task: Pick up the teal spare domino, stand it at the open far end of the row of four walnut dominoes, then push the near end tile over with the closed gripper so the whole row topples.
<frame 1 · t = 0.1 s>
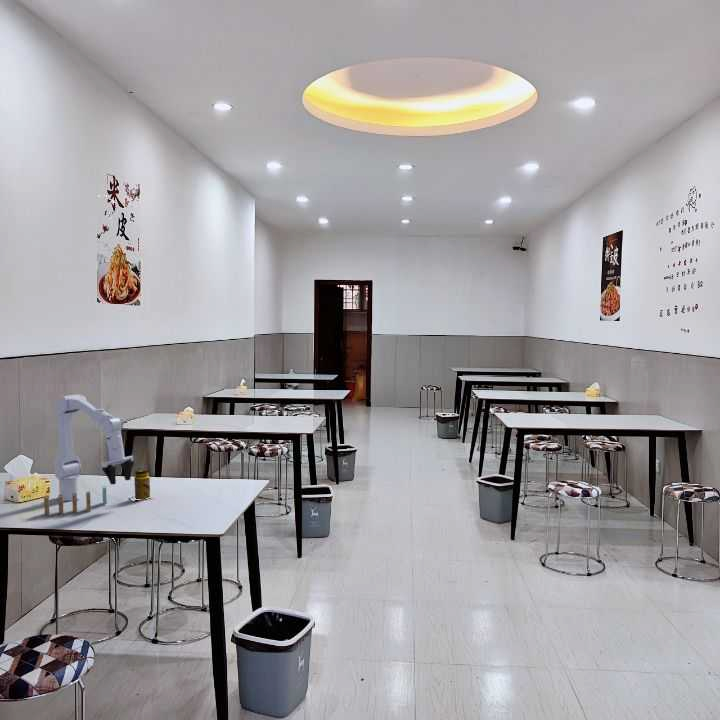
hand: (120, 482, 280), 10 cm above the table, tool pointing down, fingers open, 7 cm apart
domino 3: (75, 511, 276), on the table
domino 2: (61, 513, 275), on the table
domino 4: (88, 510, 278), on the table
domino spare: (104, 503, 288), on the table
domino 1: (47, 514, 273), on the table
condiment: (140, 499, 295), on the table
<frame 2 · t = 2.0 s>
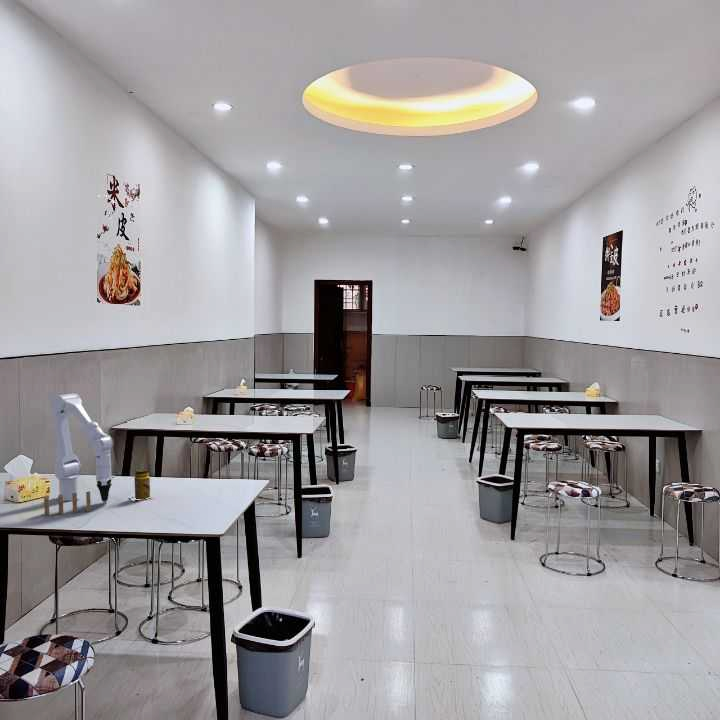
hand: (104, 499, 287), 2 cm above the table, tool pointing down, fingers closed on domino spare, 4 cm apart
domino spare: (104, 503, 288), on the table, touching gripper
everything else where it was.
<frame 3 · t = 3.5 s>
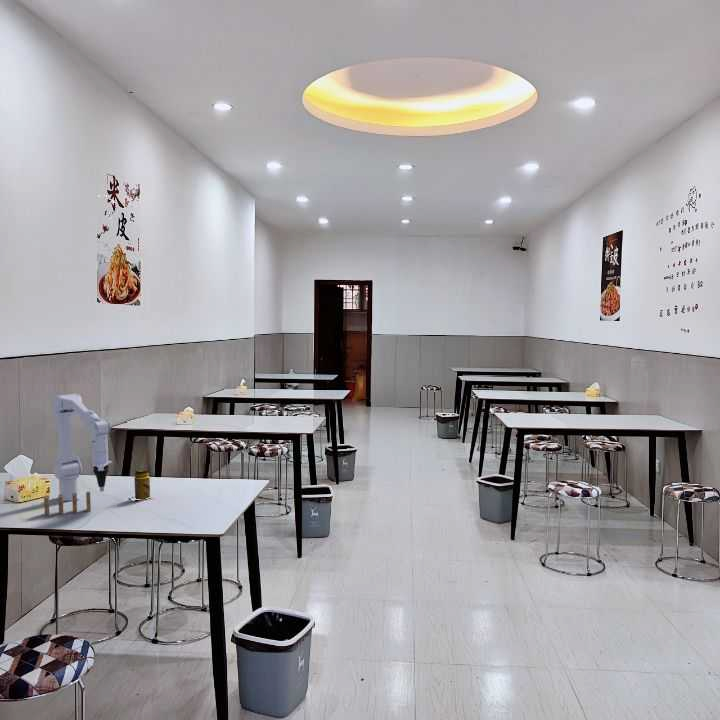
hand: (101, 485, 279), 9 cm above the table, tool pointing down, fingers closed on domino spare, 4 cm apart
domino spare: (101, 490, 279), point 7 cm above the table, touching gripper
everything else where it was.
when the fingers open (2 cm above the table, at t = 5.4 s): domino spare stays where it is, on the table.
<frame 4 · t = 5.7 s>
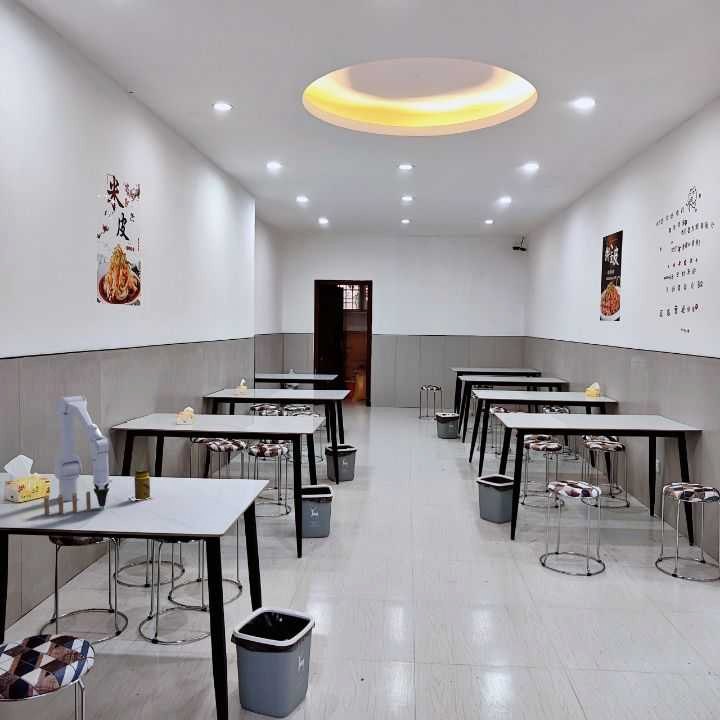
hand: (102, 503, 280), 2 cm above the table, tool pointing down, fingers open, 7 cm apart
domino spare: (102, 509, 280), on the table
everything else where it was.
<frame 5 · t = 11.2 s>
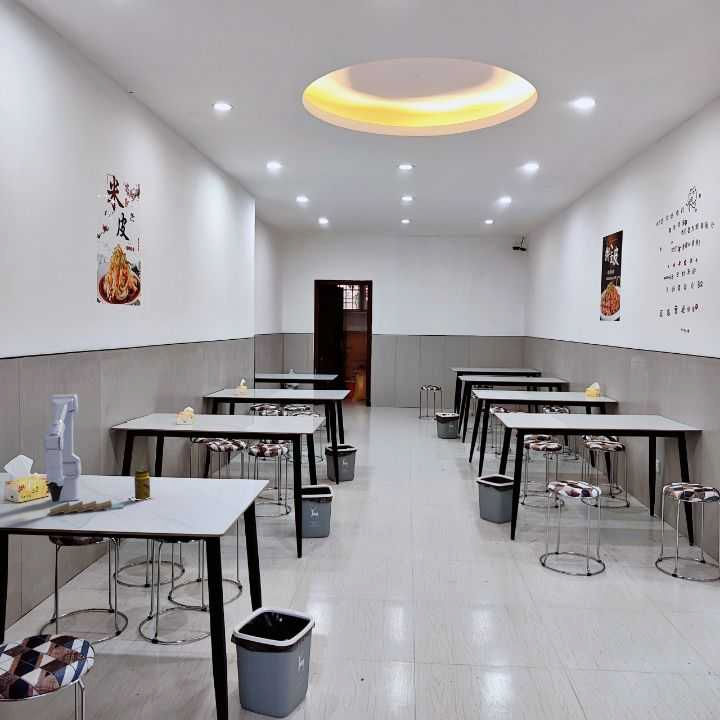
hand: (55, 501, 274), 5 cm above the table, tool pointing down, fingers closed
domino 3: (77, 509, 277), point 1 cm above the table, tilted 76°
domino 2: (64, 511, 275), point 1 cm above the table, tilted 73°, touching domino 1
domino 4: (92, 508, 279), point 1 cm above the table, tilted 79°, touching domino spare
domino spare: (104, 508, 280), on the table, tilted 90°, touching domino 4
domino 1: (50, 512, 273), point 1 cm above the table, tilted 73°, touching domino 2
everything else where it was.
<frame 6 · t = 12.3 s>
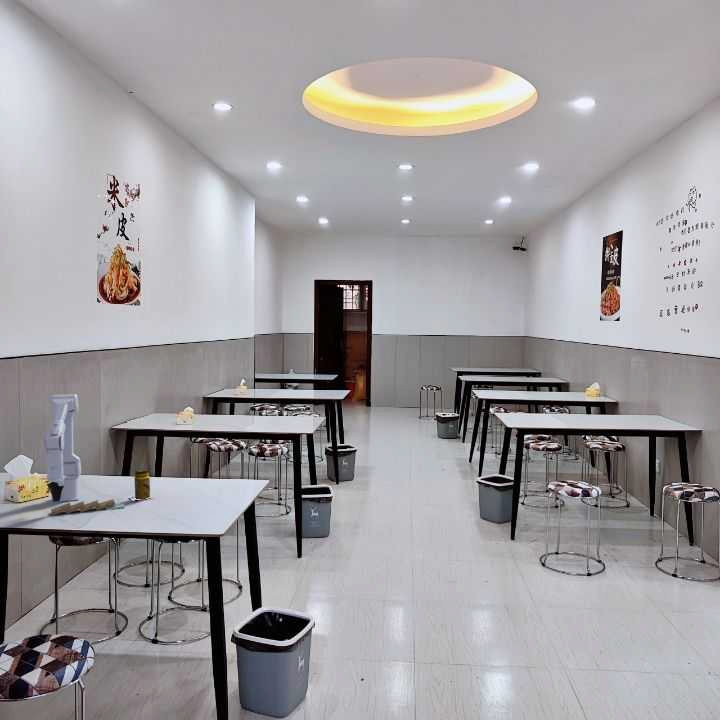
hand: (56, 501, 274), 5 cm above the table, tool pointing down, fingers closed
domino 3: (80, 509, 277), point 1 cm above the table, tilted 76°, touching domino 4
domino 4: (96, 507, 279), point 1 cm above the table, tilted 80°, touching domino 3, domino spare
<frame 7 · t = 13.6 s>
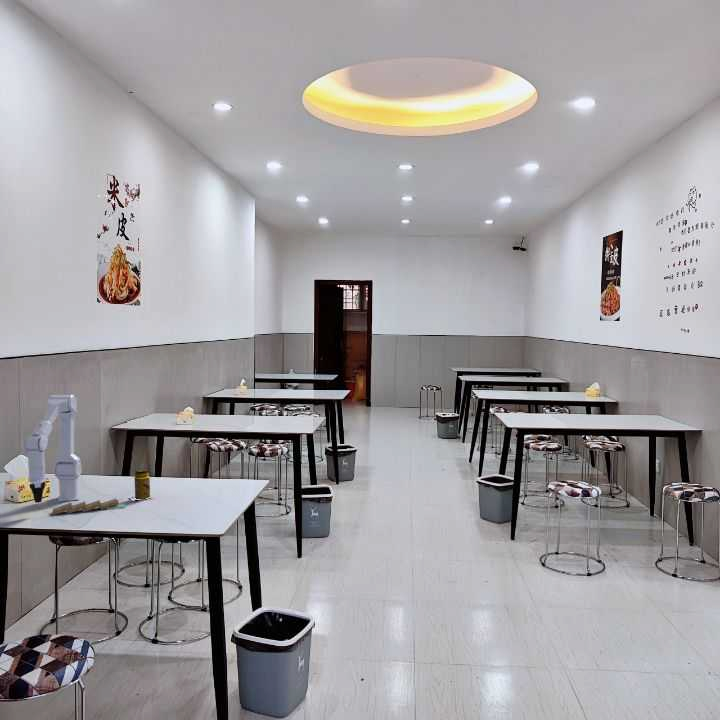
hand: (38, 502, 272), 5 cm above the table, tool pointing down, fingers closed
domino 3: (82, 509, 277), point 1 cm above the table, tilted 76°, touching domino 2, domino 4
domino 2: (67, 510, 275), point 1 cm above the table, tilted 75°, touching domino 1, domino 3
domino 4: (99, 506, 280), point 1 cm above the table, tilted 80°, touching domino 3, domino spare
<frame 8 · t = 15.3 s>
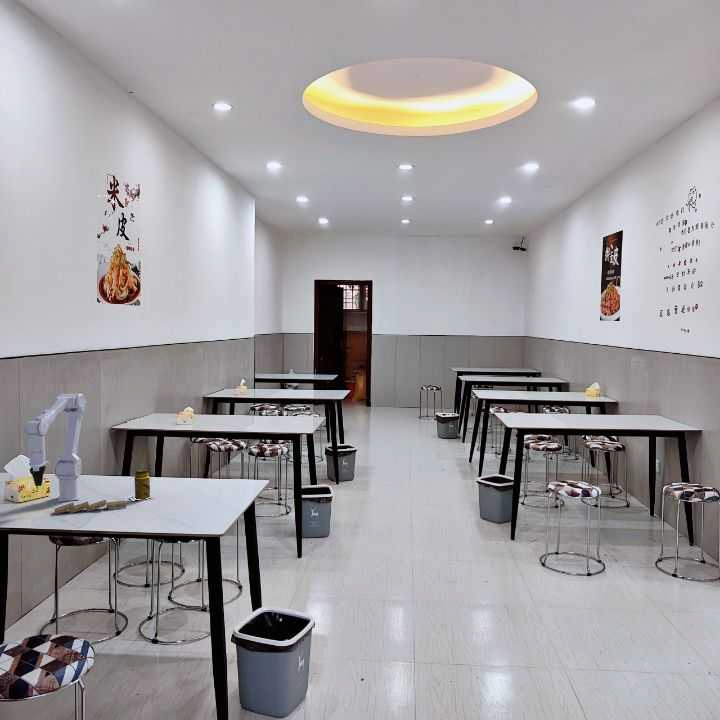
hand: (38, 485, 276), 10 cm above the table, tool pointing down, fingers closed
domino 3: (87, 508, 278), point 1 cm above the table, tilted 74°, touching domino 2, domino 4
domino 4: (106, 505, 280), point 1 cm above the table, tilted 90°, touching domino 3, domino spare
at the end: domino 1 tilted 75°; domino 3 tilted 76°; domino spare tilted 90° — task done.
